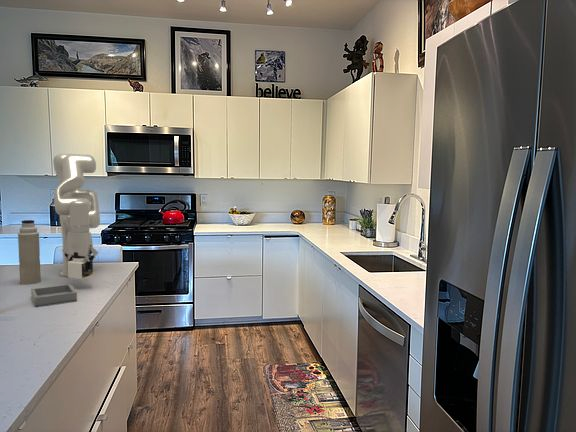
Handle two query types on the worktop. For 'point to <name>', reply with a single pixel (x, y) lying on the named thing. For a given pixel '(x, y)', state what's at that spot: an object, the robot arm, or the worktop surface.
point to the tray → (53, 295)
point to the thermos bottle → (29, 253)
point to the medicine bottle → (78, 267)
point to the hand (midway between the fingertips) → (80, 268)
